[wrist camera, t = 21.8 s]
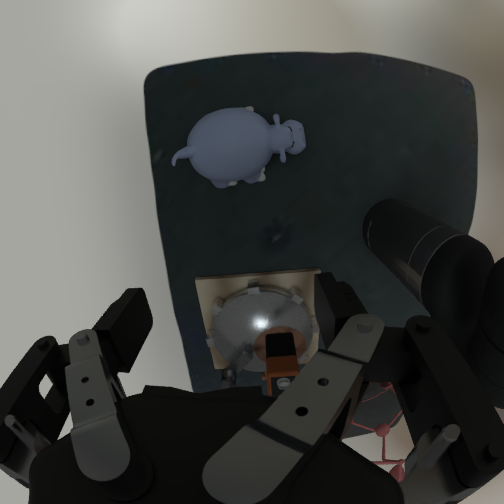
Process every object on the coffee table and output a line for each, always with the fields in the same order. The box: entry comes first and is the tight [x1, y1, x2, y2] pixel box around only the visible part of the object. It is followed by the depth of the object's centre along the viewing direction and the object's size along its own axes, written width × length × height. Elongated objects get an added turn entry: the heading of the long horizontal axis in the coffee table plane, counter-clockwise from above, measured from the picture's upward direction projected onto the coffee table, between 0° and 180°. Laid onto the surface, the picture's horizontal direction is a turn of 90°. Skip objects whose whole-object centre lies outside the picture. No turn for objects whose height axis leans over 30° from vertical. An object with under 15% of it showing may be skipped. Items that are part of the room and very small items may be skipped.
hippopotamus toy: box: [172, 106, 306, 188], centre depth 31 cm, size 11×15×10 cm
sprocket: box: [206, 280, 319, 389], centre depth 41 cm, size 20×18×7 cm
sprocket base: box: [195, 268, 321, 380], centre depth 43 cm, size 19×20×4 cm
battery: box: [265, 332, 300, 398], centre depth 37 cm, size 4×7×10 cm, turn 5°
